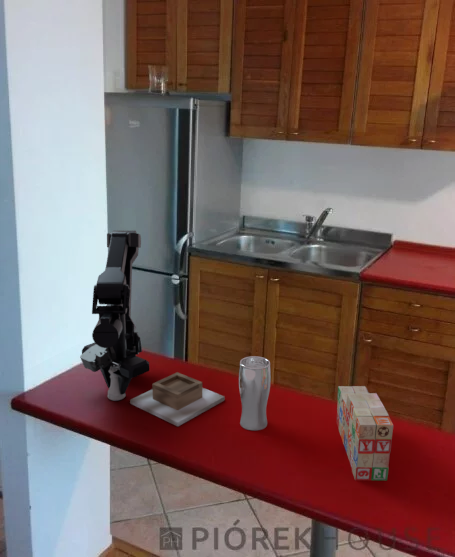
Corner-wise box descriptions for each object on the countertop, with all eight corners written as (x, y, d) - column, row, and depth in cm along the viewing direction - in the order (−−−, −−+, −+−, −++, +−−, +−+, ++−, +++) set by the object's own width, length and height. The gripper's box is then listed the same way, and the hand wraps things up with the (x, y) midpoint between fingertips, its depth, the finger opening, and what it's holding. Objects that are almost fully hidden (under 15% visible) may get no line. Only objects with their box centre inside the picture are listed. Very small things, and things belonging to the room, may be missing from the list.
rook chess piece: (117, 403, 137) (115, 372, 135) (103, 398, 139) (101, 368, 137) (129, 395, 141) (128, 365, 139) (116, 391, 143) (114, 361, 141)
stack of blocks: (335, 422, 130) (338, 373, 126) (363, 423, 129) (367, 373, 126) (355, 481, 109) (359, 423, 106) (388, 481, 109) (393, 424, 106)
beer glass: (275, 423, 129) (277, 362, 125) (255, 435, 124) (256, 372, 120) (252, 412, 133) (253, 353, 129) (231, 423, 128) (232, 362, 124)
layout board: (130, 403, 137) (129, 384, 136) (177, 380, 149) (177, 363, 147) (177, 426, 127) (177, 406, 126) (224, 400, 139) (224, 381, 138)
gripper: (61, 331, 135) (65, 391, 140) (111, 351, 124) (115, 416, 128) (99, 318, 143) (102, 375, 148) (150, 337, 132) (152, 398, 136)
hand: (116, 391), depth 140 cm, fingers closed on rook chess piece, 4 cm apart
